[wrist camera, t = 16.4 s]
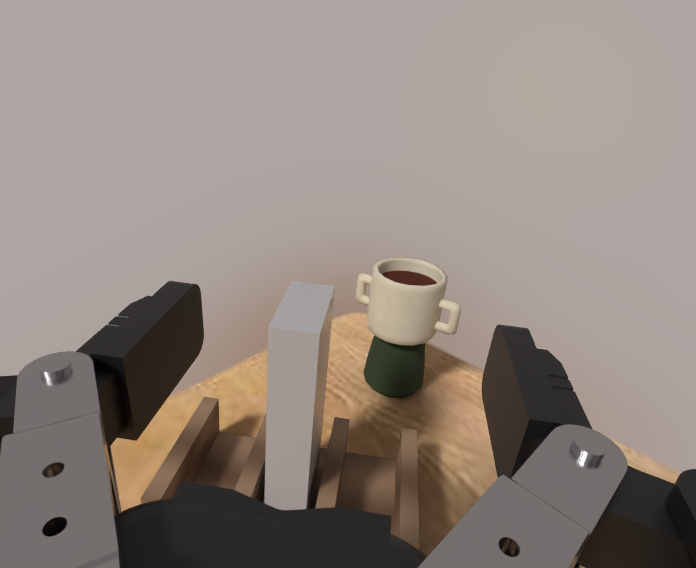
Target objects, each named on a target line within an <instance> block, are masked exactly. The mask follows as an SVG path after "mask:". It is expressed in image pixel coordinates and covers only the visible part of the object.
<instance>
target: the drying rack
mask: <svg viewBox="0 0 696 568" xmlns="http://www.w3.org/2000/svg"><path fill="white" fill-rule="evenodd" d="M349 420H350V419H344V418H337V417H335V418H334V423H333V428H332V432H331V437H330V442H329V446H328V449H323V448H320V457H319V467H318V472H317V477H316V482H315V486H314V491H313V496H312V500H311V505H310V509H315V508H331V507H342V508H348V509H354V510H360V511H366V512H372V513H378V514H384V515H390V516H392V519H391V534H392V535H395V536H397V537H399V538H401V539H403V540H405V541H406V542H408V543H410V544H411V545H413V546H414V547H416V548H417V549H418V550H419V547H420V542H419V496H418V450H417V430H415V429H408V428H402V430H401V435H400V441H399V446H398V452H397V457H396V460H392V459H385V458H379V457H373V456H367V455H360V454H354V453H348V452H346V445H347V436H348V428H349ZM265 455H266V415H265V417H264V420H263V422H262V425H261V427H260V429H259V432H258V434H257V437H256V438H254V437H248V436H242V435H235V434H229V433H223V432H219V401H218V399H215V398H208V397H204V398H203V400H202V401H201V403H200V404H199V406H198V408H197V409H196V411H195V412H194V414H193V416H192V417H191V419H190V420H189V422H188V424H187V425H186V427H185V428H184V430H183V432H182V433H181V435H180V436H179V438H178V440H177V441H176V443H175V444H174V446H173V448H172V449H171V451H170V452H169V454H168V456H167V457H166V459H165V460H164V462H163V464H162V465H161V467H160V468H159V470H158V472H157V473H156V475H155V476H154V478H153V480H152V481H151V483H150V484H149V486H148V488H147V489H146V491H145V492H144V494H143V496H142V497H141V504H143V503H147V502H151V501H155V500H160V499H166V498H173V497H174V495H175V493H176V492H177V490H178V488H179V486H180V484H181V482H182V481H186V482H192V483H198V484H204V485H210V486H216V487H222V488H228V489H233V490H235V491H238V492H240V493H242V494H244V495H247V496H249V497H251V498H254V499H256V500H258V501H260V502H263V503H264V499H265Z"/></svg>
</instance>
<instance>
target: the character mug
mask: <svg viewBox="0 0 696 568" xmlns="http://www.w3.org/2000/svg"><path fill="white" fill-rule="evenodd" d="M366 284H370V285H371V288H370V296H367V295H365V291H366ZM446 285H447V275H446V273H445V272H444V271H443V270H442V269H441V268H439V267H438V266H436V265H434V264H432V263H429V262H427V261H423V260H419V259H413V258H401V257H396V258H387V259H384V260H381V261H378V262H377V263H376V264H375V265H374V268H373V273H372V275H368V274H364V273H360V275H359V277H358V281H357V290H356V300H357V301H358V302H359V303H362V304H365V305H368V312H367V318H368V326H369V329H370V330H371V332H372V333H373V334H374V335H375V336H374V337H373V341H372V344H371V347H370V350H369V354H368V357H367V360H366V365H365V369H364V376H365V380H366V382H367V383H368V384H369V385H370V386H371V387H372V389H373V390H375V391H377V392H380V393H382V394H384V395H390V396H403V395H407V394H411V393H414V392H415V391H416V390H418V389H419V388H421V386H422V383H423V375H424V361H425V343H426V342H427V341H428V340H430V339H431V338H432V337H433V336H434V334H435V333H436V331H440V332H443V333H445V334H455V332H456V331H457V326H458V322H459V317H460V313H461V308H460V305H458V304H456V303H454V302H451V301H448V300H445V299H444V294H445V289H446ZM442 309H444V310H447V311H449V312H450V315H449V320H448V323H444V322H441V321H439V320H440V315H441V310H442Z"/></svg>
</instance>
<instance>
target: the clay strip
mask: <svg viewBox="0 0 696 568" xmlns="http://www.w3.org/2000/svg"><path fill="white" fill-rule="evenodd" d="M334 289H335V286H329V285H322V284H314V283H306V282H298V281H292V282H291V284H290V286H289V288H288V290H287V292H286V294H285V296H284V298H283V300H282V302H281V303H280V305H279V307H278V309H277V311H276V313H275V315H274V317H273V319H272V321H271V323H270V325H269V326H268V367H267V411H266V455H265V499H264V503H265V504H267V505H270V506H272V507H274V508H276V509H279V510H300V509H310V505H311V500H312V496H313V491H314V486H315V482H316V477H317V472H318V467H319V457H320V446H321V435H322V423H323V412H324V401H325V390H326V379H327V368H328V356H329V345H330V334H331V323H332V311H333V300H334Z"/></svg>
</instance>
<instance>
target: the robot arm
mask: <svg viewBox="0 0 696 568" xmlns="http://www.w3.org/2000/svg"><path fill="white" fill-rule="evenodd" d="M203 339H204V329H203V315H202V302H201V292H200V288H199V286H198V285H196V284H190V283H181V282H175V281H169V282H167V283H166V284H165V285H164V286H163V287H162V288H160V289H159V290H158V291H157V292H156V293H155V294H154V295H153V296H146V297H144V298H142V299H140V300H138V301H136V302H133V303H131V304H130V305H129V306H128V307H126V308H125V309H124V310H123V311H122V312H120V314H119V315H118V317H115V318H114V319H112V320H111V321H110V322H109V324H108V325H106V326H105V327H103V328H102V329H101V330H100V331H99V332H98V333H97V334H95V335H94V336H93V337H92V338H91V339H90V340H88V341H87V342H86V343H85V344H84V345H83V346H82V347H80V348H79V349H78V350H77V351H76V352H59V353H54V354H50V355H47V356H43V357H41V358H38V359H36V360H34V361H33V362H31V363H29V364H28V365H27V366H25V367H24V368H23V369H22V370H21V371H20V373H19V375H17V376H16V375H15V376H0V568H580V566H583V567H586V568H696V469H691V470H686V471H684V472H682V473H681V474H680V475H679V477H678V479H677V481H676V483H675V484H673V483H671V482H668V481H665V480H663V479H660V478H657V477H655V476H652V475H649V474H647V473H644V472H641V471H639V470H637V469H634V468H632V467H630V466H628V464H627V460H626V457H625V455H624V454H623V452H622V451H621V449H620V448H619V447H618V446H617V445H616V444H615V443H614V442H613V441H611V440H610V439H609V438H607V437H606V436H604V435H603V434H601V433H599V432H597V431H595V430H593V429H592V427H591V425H590V423H589V421H588V419H587V417H586V415H585V413H584V410H583V408H582V406H581V404H580V402H579V400H578V398H577V396H576V393H575V392H573V387H572V385H571V383H570V381H569V380H568V376H567V374H566V372H565V370H564V368H563V366H562V364H561V363H560V362H559V361H558V360H557V359H556V358H555V357H554V356H553V355H552V354H551V353H550V352H549V351H548V350H543V349H537V348H536V346H535V344H534V341H533V339H532V336H531V334H530V331H529V330H528V329H527V328H521V327H513V326H505V325H497V326H496V328H495V331H494V334H493V338H492V342H491V346H490V350H489V354H488V358H487V362H486V365H485V369H484V373H483V379H482V398H483V403H484V408H485V414H486V419H487V424H488V429H489V434H490V440H491V445H492V450H493V455H494V460H495V465H496V471H497V476H498V479H497V480H496V481H495V482H494V483H493V484H492V485H491V486H490V488H489V489H488V490H487V491H486V492H485V493H484V494H483V495H482V497H481V498H480V499H479V500H478V501H477V502H476V503H475V504H474V505H473V507H472V508H471V509H470V510H469V511H468V512H467V513H466V514H465V515H464V517H463V518H462V519H461V520H460V521H459V522H458V523H457V524H456V525H455V527H454V528H453V529H452V530H451V531H450V532H449V533H448V534H447V535H446V537H445V538H444V539H443V540H442V541H441V542H440V543H439V544H438V546H437V547H436V548H435V549H434V550H433V551H432V552H431V553H430V554H429V556H428V557H427V556H426V555H425V554H424V553H422V552H421V551H420V550H418V549H417V548H416V547H414V546H413V545H411V544H410V543H408V542H406V541H405V540H403V539H401V538H399V537H397V536H395V535H392V534H391V519H392V516H390V515H384V514H378V513H372V512H366V511H360V510H354V509H348V508H342V507H331V508H315V509H300V510H279V509H276V508H274V507H272V506H270V505H267V504H265V503H263V502H260V501H258V500H256V499H254V498H251V497H249V496H247V495H244V494H242V493H240V492H238V491H235V490H233V489H228V488H222V487H216V486H210V485H204V484H198V483H192V482H186V481H182V482H181V484H180V486H179V488H178V490H177V492H176V493H175V495H174V497H173V498H166V499H160V500H155V501H151V502H147V503H143V504H140V505H137V506H135V507H132V508H129V509H127V510H125V511H123V512H121V507H120V500H119V494H118V488H117V482H116V475H115V469H114V463H113V457H112V451H111V447H110V446H111V444H112V443H113V442H114V441H115V439H116V438H123V439H129V440H136V441H137V439H138V438H139V437H140V435H141V434H142V432H143V431H144V430H145V428H146V427H147V426H148V424H149V423H150V421H151V420H152V419H153V417H154V416H155V414H156V413H157V412H158V410H159V409H160V408H161V406H162V405H163V403H164V402H165V401H166V399H167V398H168V396H169V395H170V394H171V392H172V391H173V389H174V388H175V387H176V385H177V384H178V383H179V381H180V380H181V378H182V377H183V376H184V374H185V373H186V372H187V370H188V369H189V367H190V366H191V365H192V363H193V362H194V361H195V359H196V358H197V356H198V355H199V353H200V351H201V348H202V344H203Z"/></svg>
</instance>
